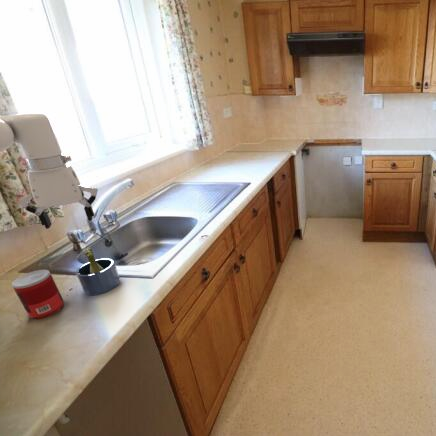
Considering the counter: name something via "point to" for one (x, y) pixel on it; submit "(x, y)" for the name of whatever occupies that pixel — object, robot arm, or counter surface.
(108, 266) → the crock
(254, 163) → the counter surface
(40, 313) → the canned food
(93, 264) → the fennel bulb
